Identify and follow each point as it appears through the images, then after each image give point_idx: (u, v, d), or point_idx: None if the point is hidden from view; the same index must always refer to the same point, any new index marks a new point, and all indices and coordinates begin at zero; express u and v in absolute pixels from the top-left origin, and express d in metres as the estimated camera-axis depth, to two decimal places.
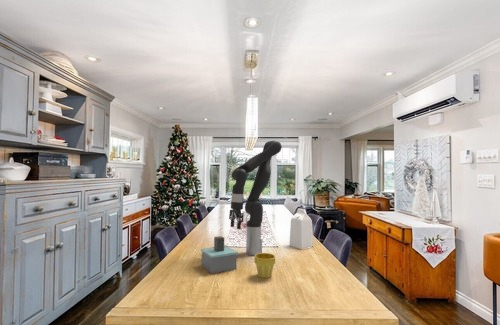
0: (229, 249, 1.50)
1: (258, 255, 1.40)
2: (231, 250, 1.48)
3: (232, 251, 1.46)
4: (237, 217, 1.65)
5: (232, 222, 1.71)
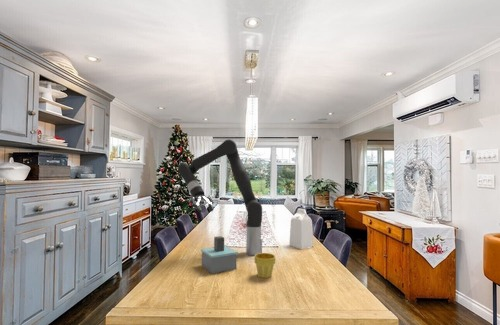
0: (229, 249, 1.50)
1: (258, 255, 1.40)
2: (231, 250, 1.48)
3: (232, 251, 1.46)
4: (195, 203, 1.58)
5: (209, 207, 1.61)
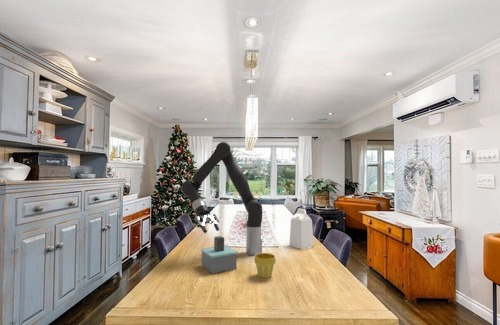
0: (229, 249, 1.50)
1: (258, 255, 1.40)
2: (231, 250, 1.48)
3: (232, 251, 1.46)
4: (201, 223, 1.54)
5: (215, 226, 1.57)
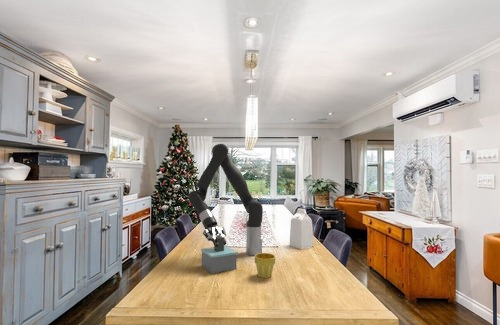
0: (229, 249, 1.50)
1: (258, 255, 1.40)
2: (231, 250, 1.48)
3: (232, 251, 1.46)
4: None
5: None
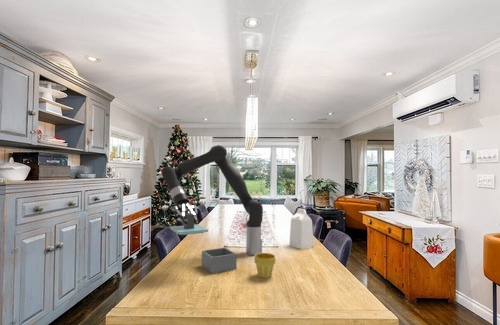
0: (200, 227, 1.42)
1: (258, 255, 1.40)
2: (202, 228, 1.40)
3: (202, 229, 1.38)
4: (180, 213, 1.41)
5: None
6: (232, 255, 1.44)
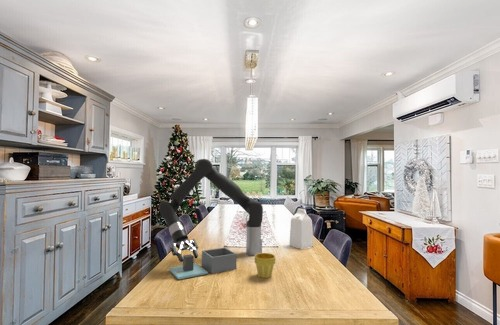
0: (199, 268, 1.41)
1: (258, 255, 1.40)
2: (201, 269, 1.39)
3: (202, 271, 1.38)
4: (177, 250, 1.40)
5: (194, 253, 1.43)
6: (232, 255, 1.44)
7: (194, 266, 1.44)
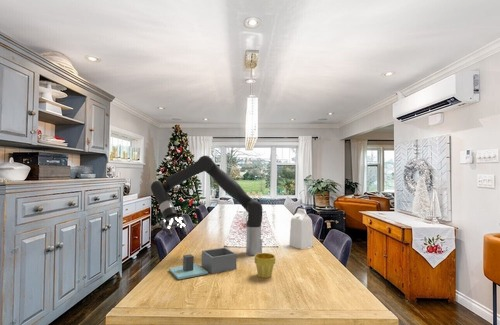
0: (199, 268, 1.41)
1: (258, 255, 1.40)
2: (201, 269, 1.39)
3: (202, 271, 1.38)
4: (167, 226, 1.49)
5: (182, 229, 1.52)
6: (232, 255, 1.44)
7: (194, 266, 1.44)
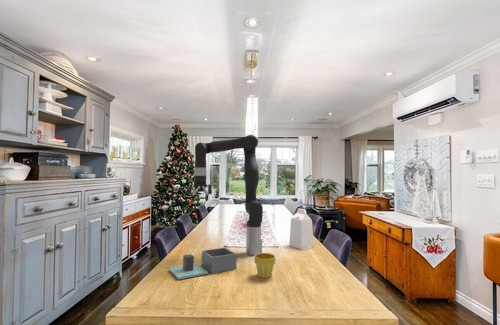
0: (199, 268, 1.41)
1: (258, 255, 1.40)
2: (201, 269, 1.39)
3: (202, 271, 1.38)
4: (193, 190, 1.69)
5: (205, 196, 1.72)
6: (232, 255, 1.44)
7: (194, 266, 1.44)
